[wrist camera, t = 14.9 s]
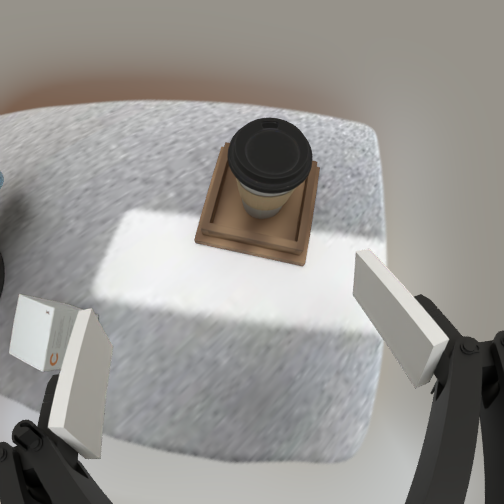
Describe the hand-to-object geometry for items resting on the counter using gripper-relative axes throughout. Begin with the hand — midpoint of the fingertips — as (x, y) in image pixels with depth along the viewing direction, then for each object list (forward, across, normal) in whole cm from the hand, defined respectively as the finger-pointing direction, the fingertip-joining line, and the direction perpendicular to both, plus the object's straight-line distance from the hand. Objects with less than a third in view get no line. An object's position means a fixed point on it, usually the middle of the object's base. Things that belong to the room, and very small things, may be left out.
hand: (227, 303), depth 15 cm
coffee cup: (+31, +8, -9) cm, 33 cm away
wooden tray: (+32, +8, -10) cm, 35 cm away
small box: (+23, -24, -20) cm, 39 cm away
